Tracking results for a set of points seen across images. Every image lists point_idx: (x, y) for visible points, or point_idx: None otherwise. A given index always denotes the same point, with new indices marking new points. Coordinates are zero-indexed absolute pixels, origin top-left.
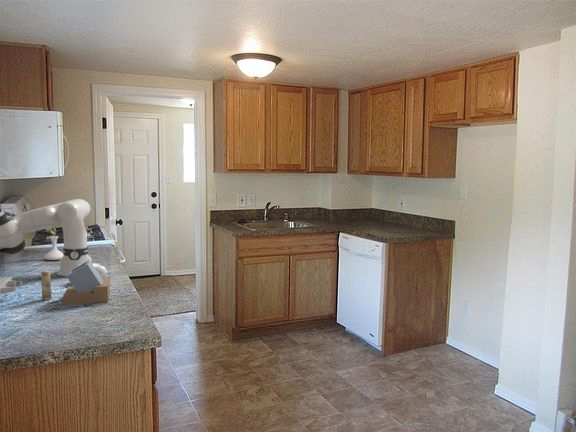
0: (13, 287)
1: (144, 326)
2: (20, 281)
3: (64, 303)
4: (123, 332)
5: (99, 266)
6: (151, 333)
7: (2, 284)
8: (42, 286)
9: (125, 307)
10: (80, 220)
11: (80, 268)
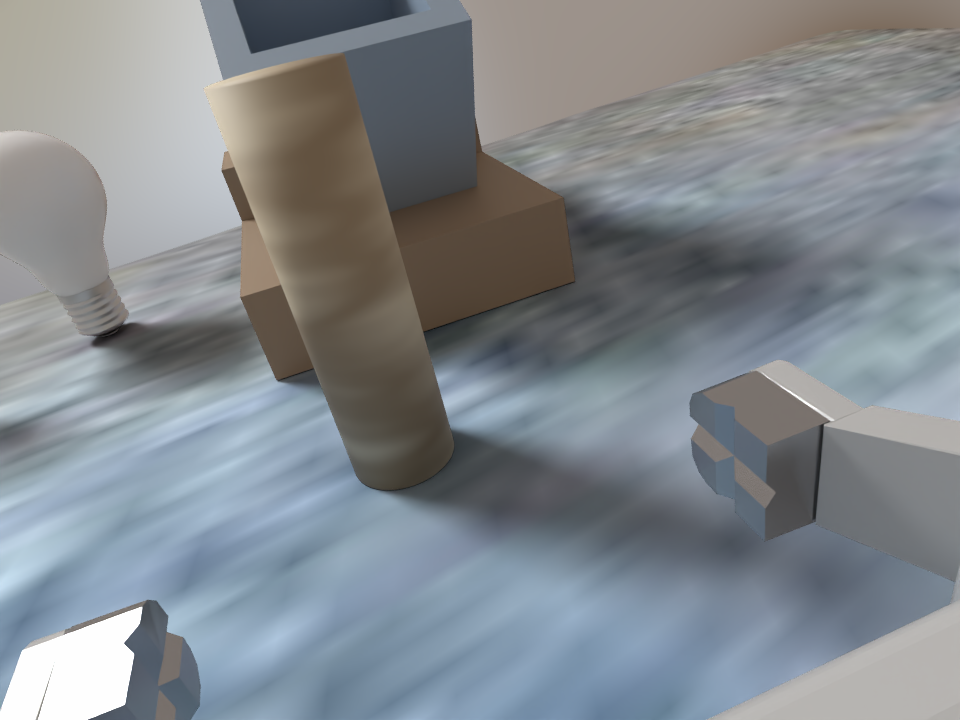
0: (791, 366)
1: (758, 61)
2: (82, 623)
3: (569, 267)
4: (855, 53)
5: (22, 131)
6: (810, 41)
7: (948, 630)
8: (395, 298)
9: (548, 143)
10: None
11: None
